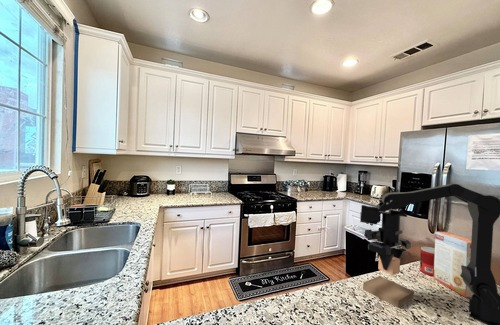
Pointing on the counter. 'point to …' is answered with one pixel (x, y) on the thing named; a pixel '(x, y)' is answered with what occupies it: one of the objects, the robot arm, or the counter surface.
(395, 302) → the base slab
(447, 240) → the cracker box
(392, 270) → the cube
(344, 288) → the counter surface
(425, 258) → the canned food
